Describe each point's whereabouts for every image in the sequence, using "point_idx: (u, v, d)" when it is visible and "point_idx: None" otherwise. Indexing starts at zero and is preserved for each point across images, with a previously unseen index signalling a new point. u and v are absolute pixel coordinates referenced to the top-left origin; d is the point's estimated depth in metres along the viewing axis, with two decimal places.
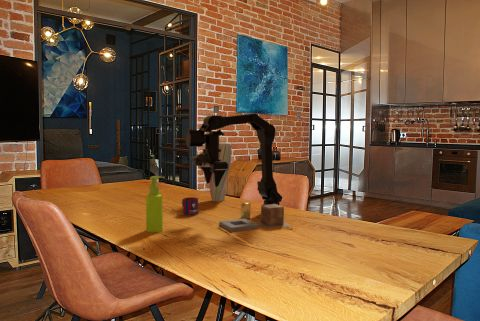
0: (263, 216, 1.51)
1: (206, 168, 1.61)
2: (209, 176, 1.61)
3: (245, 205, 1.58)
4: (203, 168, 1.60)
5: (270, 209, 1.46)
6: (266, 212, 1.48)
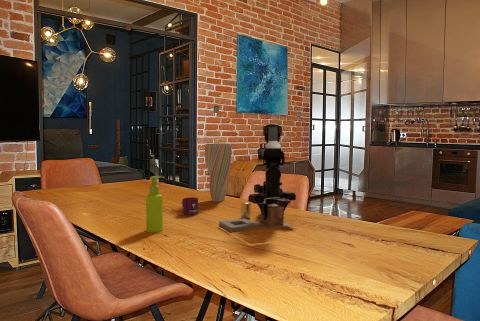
0: None
1: (280, 202, 1.53)
2: None
3: (245, 205, 1.58)
4: (278, 201, 1.54)
5: (270, 209, 1.46)
6: None
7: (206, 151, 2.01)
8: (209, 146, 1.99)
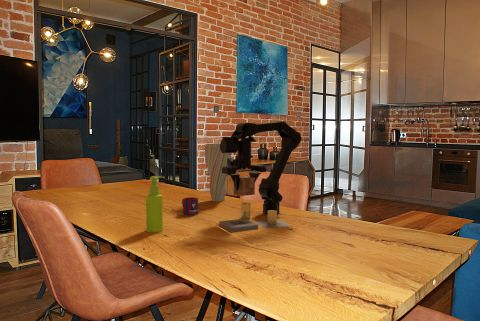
0: None
1: (251, 174, 1.64)
2: None
3: (245, 205, 1.58)
4: (249, 173, 1.65)
5: (242, 180, 1.58)
6: None
7: (206, 151, 2.01)
8: (209, 146, 1.99)
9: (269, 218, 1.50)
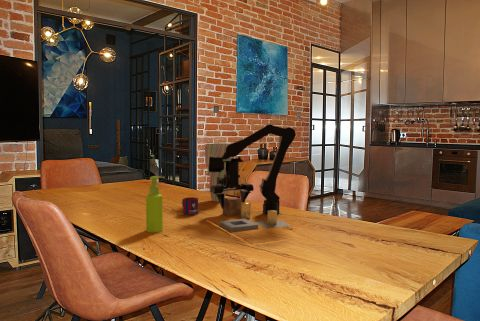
0: (224, 208, 1.69)
1: (241, 192, 1.72)
2: (242, 200, 1.71)
3: (245, 205, 1.58)
4: (240, 191, 1.73)
5: (229, 201, 1.65)
6: (226, 204, 1.67)
7: (206, 151, 2.01)
8: (209, 146, 1.99)
9: (269, 218, 1.50)
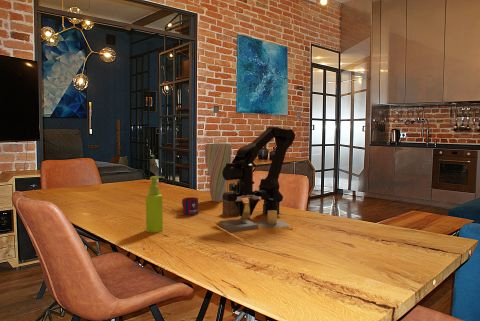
0: (224, 208, 1.69)
1: (250, 200, 1.61)
2: (251, 208, 1.60)
3: (245, 205, 1.58)
4: (249, 199, 1.63)
5: (229, 201, 1.65)
6: (226, 204, 1.67)
7: (206, 151, 2.01)
8: (209, 146, 1.99)
9: (269, 218, 1.50)
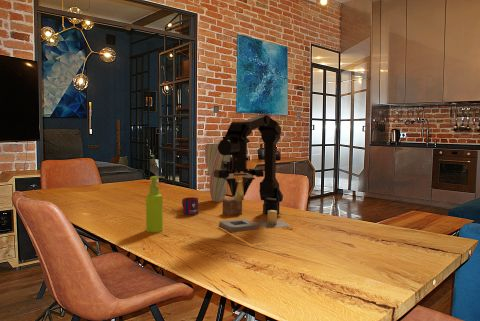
0: (224, 208, 1.69)
1: (244, 178, 1.48)
2: (244, 188, 1.47)
3: (238, 183, 1.44)
4: (243, 178, 1.49)
5: (229, 201, 1.65)
6: (226, 204, 1.67)
7: (206, 151, 2.01)
8: (209, 146, 1.99)
9: (269, 218, 1.50)
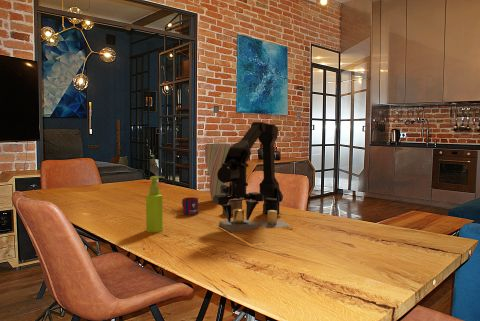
0: None
1: (248, 203, 1.48)
2: (248, 212, 1.47)
3: (238, 212, 1.44)
4: (246, 202, 1.49)
5: (229, 201, 1.65)
6: None
7: (206, 151, 2.01)
8: (209, 146, 1.99)
9: (269, 218, 1.50)
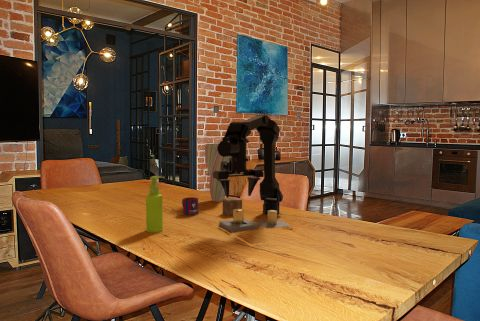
0: (224, 208, 1.69)
1: (250, 179, 1.47)
2: (250, 188, 1.46)
3: (238, 212, 1.44)
4: (248, 178, 1.49)
5: (229, 201, 1.65)
6: (226, 204, 1.67)
7: (206, 151, 2.01)
8: (209, 146, 1.99)
9: (269, 218, 1.50)
